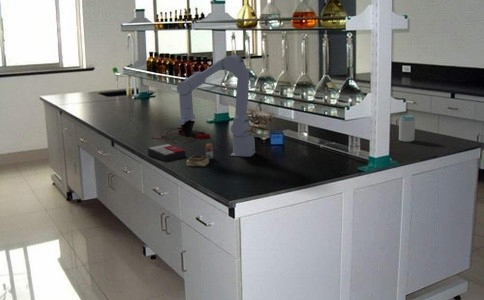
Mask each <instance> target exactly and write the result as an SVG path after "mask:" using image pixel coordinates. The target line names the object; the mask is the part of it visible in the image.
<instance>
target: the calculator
mask: <svg viewBox="0 0 484 300" xmlns="http://www.w3.org/2000/svg"><path fill="white" fill-rule="evenodd" d="M147 155H148V156H149V157H150V158H155V159H158V160H160V161H163V162H168V161H172V160H176V159H181V158H182V159H183V158H185V157H186V151H185V149H183V148H180V147H178V146H175V145H171V144H169V143H167V144H160V145H157V146H151V147H148V148H147Z"/></svg>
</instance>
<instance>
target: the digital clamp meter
mask: <svg viewBox="0 0 484 300" xmlns="http://www.w3.org/2000/svg"><path fill="white" fill-rule="evenodd" d="M168 129H170V130H168ZM165 130H168V131H167V132H166V134H165V136H166V137H165V136H164V135H162V133H163V132H164V131H165ZM174 130H175V131H176V130H178V132H175V133H172V134H168V133H169V132H170V131H174ZM177 134H178V135H180V134H181V136H185V133H184V130H183V128H182V126H180V127H179V126H178V127H176V128H171V127H167V128H164V129H162V130H161V132H160V134H159V135H160V137H159V138H157V137H151V140H162V141H166V142H167V141H169V142H172V143H173V144H175V145H177V144H178V143H177V142H176V141H173V140H176V139H177V140H178V141H180V143H182V145H184V144H187V143H191V142H193V141H195V140H196V139H200V140H201V139H202V140H204V139H205V140H206V139H207V140H208V139H210V138H211V134H210V133H206V132H205V131H200V130H195V129H192V134H191V137H190V138H191V139H189V140H188V141H185V142H183V141H181V140H180V138H178V136H174V137H173V138H171V139H170V138H168V137H169V136H172V135H177ZM175 138H176V139H175Z"/></svg>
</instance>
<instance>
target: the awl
mask: <svg viewBox="0 0 484 300" xmlns="http://www.w3.org/2000/svg"><path fill="white" fill-rule="evenodd" d="M205 155H206V158H209V161H211V160H213V159H214V152H213V143H205Z"/></svg>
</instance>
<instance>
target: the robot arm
mask: <svg viewBox="0 0 484 300" xmlns="http://www.w3.org/2000/svg"><path fill="white" fill-rule="evenodd" d="M245 63H246V62H245V60H244V59H243V58H242V57H241V56H240V55H239V54H232V55H229V56H226V57H224V58H221V59H219V60H217V61H216V62H214V63H213V64H212V65H211V66H209V67H208V68H206V69H205V70H203V71H194V72H192V75H190V76H188V77H185V78H184V80H183V81H180V82H179V83H178V84H177V86H176V91H177V92H178V100H179V110H180V116H179V117H178V118H177V120H178V125H180V127H182V128H183V130H184V133H185V135H184V137H185V138H191V134H192V130H193V128H194V125H195V123H196V121H195V120H196V114H194V108H193V107H194V106H193V94H192V92H193V91H194V90H196V89H197V88H199V87H201V86H202V85H204V83H205V82H206V80H207V78H208V77H209V78H210V76H212V75H214V74H215V73H217V72H218V71H225V70H226V71H228V72H229V73H231V74H233V76H234V77H236V78H237V82H236V98H235V99H236V100H235V112H234V117H233V119H232V120H233V121H232V124H231V126H230V131H231V133H232V150H233V151H232V153H231V154H230V156H231V157H250V158H251V157H252V156H254V154H255V153H256V147H255V145H256V144H255V143H256V142H255V135H251V134H250V133H249V129H250V124H251V123H250V121H249V116H248V101H249V100H248V99H249V88H250V87H249V84H250V72H249V69H248V68H247V65H246V64H245ZM194 119H195V120H194Z"/></svg>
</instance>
